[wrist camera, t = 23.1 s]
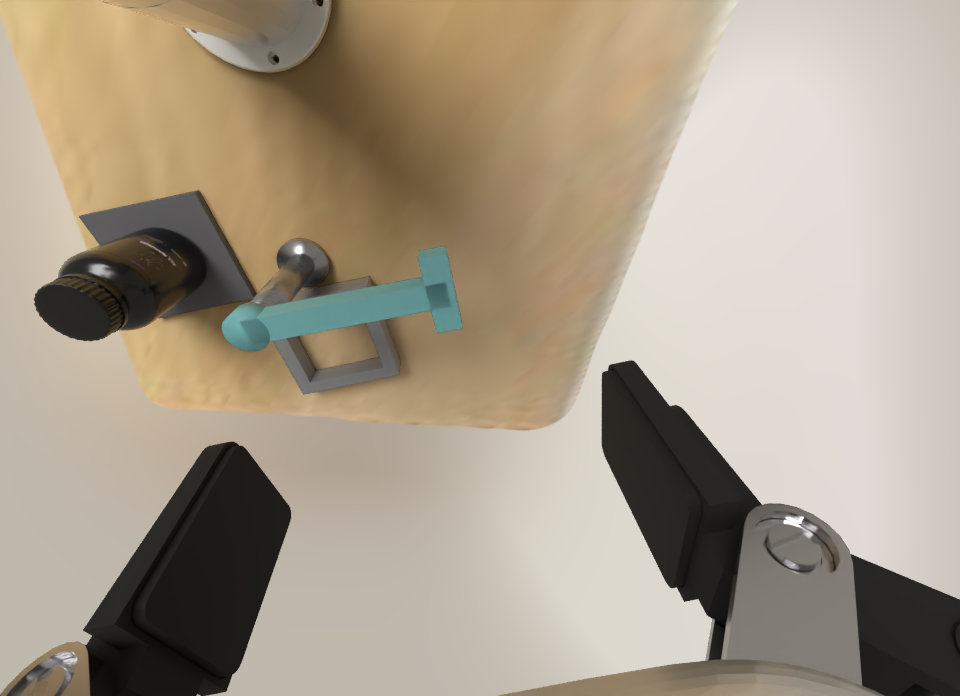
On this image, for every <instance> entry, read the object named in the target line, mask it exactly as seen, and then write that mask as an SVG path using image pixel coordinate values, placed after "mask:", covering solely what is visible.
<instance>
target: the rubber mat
mask: <svg viewBox="0 0 960 696" xmlns="http://www.w3.org/2000/svg"><path fill="white" fill-rule="evenodd" d="M79 218H80V219H81V220H82V222H83V223H84V224H85V226H86V227H87V228H88V230H89V231H90V232H91V234H92V235H93V236H94V238H95V239H96V241H97V242H98V243H99V245H102V244H105V243H107V242H110V241H112V240H115V239H117V238H120V237H122V236H125V235H127V234H130V233H133V232H135V231H138V230H141V229H144V228H150V227H158V228H165V229H169V230H171V231H174V232H176V233H178V234H180V235H182V236H184V237H185V238H187V239H188V240H189V241H190V242H192V243H193V244H194V245H195V246H196V248H197V249H198V250H199V251H200V253H201V254H202V256H203V258H204V261H205V264H206V271H207V272H206V278H205V281H204V282H203V284H202V285H201V286H200V287H199V288H198V289H197V290H196V291H194V292H193V293H192V294H190V295H189V296H188V297H186V298H185V299H184V300H182V301H181V302H179V303H178V304H177V305H175V306H174V307H173V308H171V309H170V310H168V311H167V312H166V313H164V314H163V315H162V316H160V317H159V318H162V317H167V316H172V315H176V314H181V313H186V312H191V311H196V310H201V309H205V308H210V307H215V306H220V305H225V304H229V303H234V302H239V301H244V300H249V299H253V298H254V297H255V296H256V293H255V291H254V289H253V288H252V286H251V284H250V282H249V280H248V279H247V277H246V275H245V273H244V271H243V270H242V268H241V266H240V264H239V262H238V260H237V259H236V257H235V255H234V253H233V251H232V250H231V248H230V246H229V244H228V242H227V241H226V239H225V237H224V235H223V233H222V232H221V230H220V228H219V226H218V224H217V223H216V221H215V219H214V217H213V215H212V213H211V212H210V210H209V208H208V206H207V204H206V203H205V201H204V199H203V197H202V195H201V194H200V192H199V191H194V192H189V193H185V194H180V195H175V196H170V197H166V198H161V199H156V200H151V201H147V202H142V203H137V204H132V205H128V206H123V207H118V208H113V209H109V210H104V211H99V212H94V213H90V214H85V215H82V216H79Z"/></svg>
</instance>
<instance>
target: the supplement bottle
mask: <svg viewBox="0 0 960 696" xmlns="http://www.w3.org/2000/svg"><path fill="white" fill-rule="evenodd" d="M206 272H207V271H206V264H205V261H204V258H203V256H202V254H201V253H200V251H199V250H198V249H197V248H196V246H195V245H194V244H193V243H192V242H190V241H189V240H188V239H187V238H185V237H184V236H182V235H180V234H178V233H176V232H174V231H171V230H169V229H165V228H158V227H150V228H144V229H141V230H138V231H135V232H133V233H130V234H127V235H125V236H122V237H120V238H117V239H115V240H112V241H110V242H107V243H105V244H102V245H99V246H97V247H94V248H92V249H89V250H87V251H84V252H82V253H79V254H77V255H75V256H73V257H71V258H69V259H68V260H67V261H66V262H65V263H64V264H63V265H62V267H61V268H60V271H59V275H58V279H56V280H54V281H53V282H51V283H48V284H46V285H44V286H43V287H42V288H40V289H38V291H37V293H36V294H35V298H34V301H35V306H36V310H37V311H38V312H39V315H40V317H42V318H43V320H44V321H45V322H46V323H48V325H49V326H51V327H52V328H54V329H55V330H56V331H58V332H60V333H62V334H63V335H66V336H68V337H70V338H75V339H77V340H83V341H94V340H100V339H103V338H105V337H107V336H108V335H110V334H111V333H114V332H116V331H118V330H135V329H139V328H143V327H145V326H147V325H148V324H150V323H152V322H153V321H155V320H156V319H157V318H159V317H160V316H162V315H163V314H164V313H166V312H167V311H168V310H170V309H171V308H173V307H174V306H175V305H177V304H178V303H179V302H181V301H182V300H184V299H185V298H186V297H188V296H189V295H190V294H192V293H193V292H194V291H196V290H197V289H198V288H199V287H200V286H201V285H202V284H203V282H204V281H205V278H206Z"/></svg>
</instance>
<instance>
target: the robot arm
mask: <svg viewBox="0 0 960 696" xmlns="http://www.w3.org/2000/svg"><path fill="white" fill-rule="evenodd" d="M100 1H102V2H105V3H108V4H111V5H114V6H117V7H121V8H124V9H127V10H130V11H133V12H137V13H140V14H143V15H146V16H150V17H153V18H156V19H159V20H163V21H166V22H169V23H172V24H176V25H179V26H182V27H183V28H184V29H185V30H186V31H187V32H188V34H189V35H190V36H191V37H192V38H193V39H194V40H195V41H197V42H198V43H199V44H200V45H202V46H203V47H204V48H205V49H206V50H208V51H209V52H210V53H212V54H214V55H215V56H217V57H219V58H220V59H222V60H224V61H225V62H227V63H230V64H232V65H235V66H237V67H240V68H242V69H246V70H251V71H255V72H268V73H273V72H279V71H286V70H288V69H290V68H293V67H295V66H297V65H299V64H300V63H302V62H303V61H304V60H306V59H307V58H308V57H310V56H311V54H312V53H313V52H314V50H315V49H316V48H317V47H318V45H319V44H320V42H321V40H322V38H323V36H324V34H325V32H326V29H327V25H328V21H329V18H330V14H331V5H332V0H323V6H319V5H318V2H317V1H318V0H100ZM276 55H277V56H278V57H279V63H276V62H275V60H274V57H275V56H276ZM602 448H603V452H604V455H605V457H606V460H607V462H608V464H609V466H610V468H611V470H612V472H613V474H614V476H615V478H616V480H617V483H618V485H619V486H620V489H621V491H622V493H623V495H624V497H625V499H626V501H627V503H628V505H629V507H630V509H631V511H632V513H633V516H634V518H635V519H636V522H637V523H638V526H639V528H640V530H641V532H642V534H643V536H644V538H645V540H646V542H647V544H648V546H649V548H650V551H651V553H652V555H653V557H654V559H655V561H656V563H657V565H658V567H659V569H660V571H661V573H662V575H663V577H664V579H665V581H666V583H667V584H668V586H669V587H670V588H675V587H677V588H678V590H679V592H680V594H681V596H682V598H683V600H684V602H685V601H690V600H695V599H699V601H700V603H701V605H702V607H703V608H704V610H705V612H706V614H707V615H708V616H709V617H711V618H712V624H711V631H710V636H709V642H708V649H707V654H706V660H705V661H700V662H690V663H681V664H672V665H666V666H660V667H654V668H648V669H642V670H636V671H630V672H624V673H619V674H612V675H607V676H601V677H595V678H589V679H583V680H578V681H573V682H567V683H562V684H557V685H551V686H547V687H542V688H536V689H531V690H526V691H520V692H515V693H509V694H504V695H499V696H960V600H959V599H957V598H955V597H952V596H950V595H947V594H945V593H943V592H940V591H938V590H935V589H932V588H931V587H928V586H926V585H923V584H921V583H919V582H916V581H914V580H911V579H909V578H907V577H904V576H902V575H899V574H897V573H895V572H892V571H890V570H887V569H885V568H883V567H880V566H878V565H876V564H873V563H871V562H868V561H866V560H863V559H861V558H859V557H856V556H854V555H852V554H850V551H849V549H848V547H847V546H846V544H845V543H844V541H843V540H842V538H841V537H840V535H838V534H837V533H836V532H835V531H834V530H833V529H832V528H831V527H830V526H829V525H828V524H827V523H825V522H824V521H822V520H821V519H819V518H818V517H816V516H815V515H813V514H811V513H809V512H806V511H804V510H802V509H799V508H797V507H794V506H789V505H785V504H764V505H762V504H761V503H760V502H759V501H758V500H757V498H756V497H755V496H754V495H753V493H752V492H751V491H750V490H749V488H748V487H747V486H746V485H745V484H744V482H743V481H742V480H741V479H740V477H739V476H738V475H737V474H736V473H735V471H734V470H733V469H732V468H731V467H730V465H729V464H728V463H727V462H726V460H725V459H724V458H723V457H722V455H721V454H720V453H719V452H718V451H717V449H716V448H715V447H714V446H713V445H712V443H711V442H710V441H709V440H708V438H707V437H706V436H705V435H704V433H703V432H702V431H701V430H700V429H699V427H698V426H697V425H696V424H695V422H694V421H693V420H692V419H691V418H690V416H689V415H688V414H687V413H686V412H685V411H684V410H683V409H682V408H681V407H679V406H677V405H674V406H669V405H668V404H667V402H666V401H665V400H664V398H663V397H662V396H661V394H660V393H659V392H658V391H657V389H656V388H655V387H654V385H653V384H652V383H651V382H650V381H649V379H648V378H647V377H646V376H645V374H644V373H643V371H642V370H641V369H640V368H639V366H638V365H637V364H636V363H635V362H634V361H626V362H621V363H616V364H611V365H609V368H608V371H605V372H603V373H602ZM290 520H291V510H290V507H289V505H288V504H287V503H286V501H285V500H284V499H283V498H282V496H281V495H280V493H279V492H278V491H277V489H276V488H275V487H274V485H273V484H272V483H271V481H270V480H269V479H268V478H267V476H266V475H265V474H264V472H263V471H262V470H261V468H260V467H259V466H258V464H257V463H256V462H255V460H254V459H253V458H252V456H251V455H250V454H249V452H248V451H247V450H246V449H245V448H244V447H243V446H239V445H238V444H237V443H235V442H227V443H222V444H217V445H212V446H208V447H207V448H205V449H204V450H203V451H202V453H201V454H200V456H199V457H198V459H197V460H196V462H195V464H194V465H193V467H192V468H191V469H190V471H189V472H188V474H187V475H186V477H185V478H184V480H183V481H182V483H181V484H180V486H179V487H178V489H177V490H176V492H175V493H174V495H173V496H172V498H171V499H170V501H169V502H168V504H167V505H166V507H165V508H164V510H163V511H162V513H161V514H160V516H159V517H158V519H157V520H156V522H155V523H154V525H153V526H152V528H151V529H150V531H149V532H148V534H147V535H146V537H145V538H144V540H143V541H142V543H141V544H140V546H139V547H138V549H137V550H136V552H135V553H134V555H133V556H132V558H131V559H130V561H129V562H128V564H127V565H126V567H125V568H124V570H123V571H122V573H121V574H120V576H119V577H118V579H117V580H116V582H115V583H114V585H113V586H112V588H111V589H110V591H109V592H108V594H107V595H106V597H105V598H104V600H103V601H102V603H101V604H100V606H99V607H98V609H97V610H96V612H95V613H94V615H93V616H92V618H91V619H90V621H89V622H88V624H87V625H86V626H85V628H84V629H83V631H85V632H87V633H89V634H90V635H92V637H91V639H90V640H89V642H88V644H87V645H84V644H82V643H80V642H78V641H77V642H68V643H65V644H62V645H60V646H58V647H55V648H53V649H51V650H50V651H49V652H47V653H45V654H43V655H42V656H40V657H39V658H37V659H36V660H35V661H34V662H32V663H31V664H30V665H29V666H27V667H26V668H25V669H24V670H22V672H21V673H19V675H18V676H17V677H16V678H15V679H14V680H13V681H12V682H11V683H10V684H9V685H8V686H7V687H6V688H5V689H4V691H3V692H2V693H1V694H0V696H196V695H197V694H199V695H201V696H206V695H211V694H217V693H221V692H226V691H227V688H228V685H229V683H230V680H231V677H232V674H234V673H235V672H236V671H237V670H238V668H239V667H240V664H241V662H242V659H243V657H244V654H245V651H246V648H247V644H248V642H249V639H250V636H251V633H252V630H253V627H254V625H255V622H256V619H257V616H258V613H259V610H260V607H261V604H262V601H263V598H264V596H265V593H266V590H267V587H268V584H269V581H270V578H271V575H272V572H273V569H274V566H275V564H276V561H277V558H278V555H279V552H280V549H281V546H282V544H283V541H284V538H285V535H286V532H287V529H288V526H289V523H290Z"/></svg>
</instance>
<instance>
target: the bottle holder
mask: <svg viewBox="0 0 960 696" xmlns="http://www.w3.org/2000/svg"><path fill="white" fill-rule="evenodd" d="M367 287H373V285H372V282H371V279H370V276H369V277H364V278H360V279H355V280H350V281H345V282H340V283H336V284H331V285H326V286H321V287H316V288H311V289H307V290H302V291H299V292H298V293H297V295H296V296H295V298H294V299H293V300H292V302H294V301H299V300H305V299H310V298H315V297H320V296H326V295H331V294H336V293H341V292H346V291H352V290H357V289H362V288H367ZM366 325H367V327H368V330H369V332H370V335H371V337H372V340H373V343H374V345H375V348H376V350H377V353H378V355H379V358H374V359H369V360H364V361H359V362H355V363H350V364H345V365H340V366H335V367H330V368H325V369H320V370H315V368H314V366H313V364H312V363H311V361H310V359H309V357H308V355H307V353H306V351H305V349H304V347H303V345H302V343H301V341H300V340H299V338H298V336H295V337H290V338H285V339H280V340H274V341H273V342H274V344H275V346H276V347H277V349H278V351H279V353H280V354H281V356H282V358H283V360H284V361H285V363H286V365H287V367H288V368H289V370H290V372H291V374H292V375H293V377H294V379H295V381H296V383H297V384H298V386H299V388H300V390H301V391H302V393H303V395H304V394H309V393H314V392H319V391H323V390H328V389H333V388H338V387H343V386H348V385H353V384H358V383H363V382H367V381H372V380H377V379H382V378H387V377H392V376H397V375H399V374H400V366H401V362H400V360H399V357H398V354H397V351H396V349H395V346H394V343H393V340H392V337H391V335H390V332H389V329H388V326H387V324H386V321H385V319H384V320H379V321H374V322H369V323H366Z"/></svg>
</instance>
